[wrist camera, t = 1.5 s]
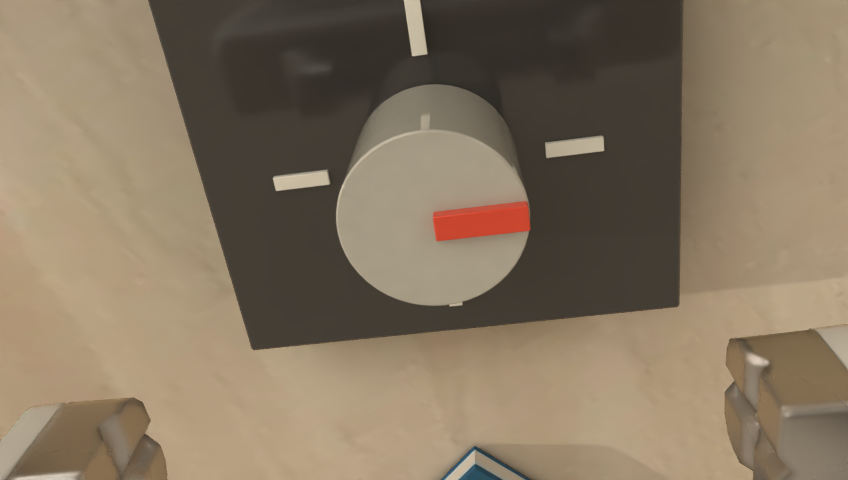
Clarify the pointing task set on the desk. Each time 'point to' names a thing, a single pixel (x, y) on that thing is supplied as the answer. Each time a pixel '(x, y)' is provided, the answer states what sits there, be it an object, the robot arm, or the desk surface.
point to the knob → (434, 198)
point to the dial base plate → (424, 65)
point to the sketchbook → (482, 468)
